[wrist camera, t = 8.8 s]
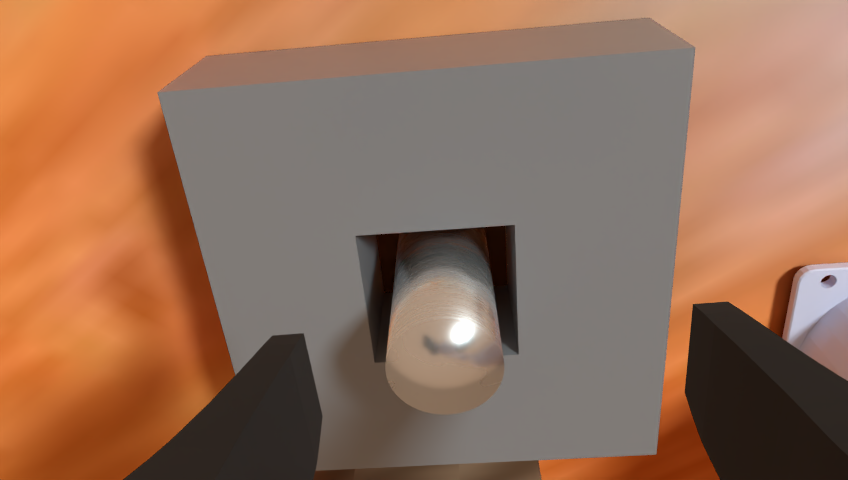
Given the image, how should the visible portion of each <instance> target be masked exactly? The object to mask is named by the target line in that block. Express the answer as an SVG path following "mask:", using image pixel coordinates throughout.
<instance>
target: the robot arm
mask: <svg viewBox="0 0 848 480" xmlns="http://www.w3.org/2000/svg"><path fill="white" fill-rule="evenodd" d="M828 275H831V276H830V278H829V279H828V280H827V281H825V282H821V280H822V279H823V278H824V277H825V276H828ZM685 394H686V397H687V400H688V403H689V407H690V410H691V413H692V416H693V419H694V422H695V424H696V427H697V430H698V433H699V436H700V438H701V441H702V443H703V445H704V448H705V450H706V452H707V454H708V456H709V458H710V460H711V462H712V464H713V466H714V468H715V470H716V472H717V474H718V476H719V478H720V480H848V262H847V263H831V264H816V265H808V266H804V267H803V268H801V269H799V270H798V272H797V273H796V274H795V276H794V279H793V284H792V289H791V295H790V300H789V305H788V310H787V315H786V321H785V326H784V331H783V336H782V338H781V337H779V336H778V335H777V334H775V333H774V332H772V331H771V330H769V329H768V328H766V327H765V326H763V325H762V324H761V323H759V322H758V321H756V320H755V319H753V318H752V317H750V316H749V315H747V314H746V313H744V312H743V311H742V310H740V309H738V308H737V307H735V306H734V305H732V304H731V303H729V302H717V303H704V304H693V311H692V322H691V332H690V343H689V353H688V364H687V375H686V385H685ZM322 417H323V415H322V411H321V407H320V402H319V398H318V394H317V389H316V385H315V380H314V376H313V372H312V367H311V363H310V359H309V354H308V350H307V345H306V341H305V337H304V333H299V334H286V335H273V336H271V337H270V338H269V339H268V340H267V341H266V343H265V344H264V345H263V346H262V347H261V348H260V349H259V350H258V351H257V352H256V353H255V355H254V356H253V357H252V358H251V359H250V360H249V361H248V362H247V363H246V364H245V366H244V367H243V368H242V369H241V370H240V371H239V372H238V373H237V374H236V375H235V376H234V378H233V379H232V380H231V381H230V382H229V383H228V384H227V385H226V386H225V387H224V388H223V389H222V390H221V391H220V392H219V393H218V394H217V396H216V397H215V398H214V399H213V400H212V401H211V402H210V403H209V404H208V405H207V406H206V407H205V408H204V409H203V410H202V411H201V412H200V413H199V414H197V415H196V416H195V417H194V418H193V419H192V420H191V421H190V422H189V423H188V424H187V425H186V426H185V427H184V428H183V429H182V430H181V431H180V432H179V433H178V434H177V435H176V436H175V437H173V438H172V439H171V440H170V441H169V442H168V443H167V444H166V445H165V446H164V447H162V448H161V449H160V450H159V451H158V452H157V453H155V454H154V455H153V456H152V457H151V458H150V459H148V460H147V461H146V462H145V463H143V464H142V465H141V466H140V467H138V468H137V469H136V470H135V471H133V472H132V473H131V474H130V475H128V476H127V477H126V478H125V479H123V480H313V479H314V474H315V470H316V466H317V460H318V452H319V444H320V436H321V426H322Z"/></svg>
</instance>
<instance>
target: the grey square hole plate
mask: <svg viewBox="0 0 848 480" xmlns="http://www.w3.org/2000/svg"><path fill="white" fill-rule="evenodd" d="M694 56H695V47H694V46H692V45H691V44H689V43H688V42H686V41H685V40H683V39H682V38H680V37H678V36H677V35H675V34H674V33H672V32H671V31H669V30H668V29H666V28H665V27H663V26H662V25H660V24H658V23H657V22H655V21H654V20H652V19H651V18H642V19H631V20H619V21H607V22H596V23H584V24H573V25H561V26H550V27H538V28H526V29H515V30H503V31H492V32H480V33H468V34H457V35H445V36H434V37H422V38H411V39H399V40H387V41H376V42H364V43H353V44H341V45H330V46H318V47H306V48H295V49H283V50H272V51H260V52H249V53H237V54H225V55H214V56H206V57H205V58H203V59H202V60H201V61H199V62H198V63H196V64H195V65H194V66H192V67H191V68H190V69H188V70H187V71H186V72H184V73H183V74H182V75H180V76H179V77H178V78H176V79H175V80H173V81H172V82H171V83H169V84H168V85H167V86H165V87H164V88H163V89H161V90H160V91H159V92H158V96H159V100H160V103H161V107H162V111H163V114H164V118H165V122H166V125H167V129H168V132H169V136H170V140H171V143H172V147H173V151H174V154H175V158H176V162H177V165H178V169H179V172H180V176H181V180H182V183H183V187H184V191H185V194H186V198H187V202H188V205H189V209H190V212H191V216H192V220H193V223H194V227H195V231H196V234H197V238H198V241H199V245H200V249H201V252H202V256H203V260H204V263H205V267H206V271H207V274H208V278H209V281H210V285H211V289H212V292H213V296H214V300H215V303H216V307H217V311H218V314H219V318H220V321H221V325H222V329H223V332H224V336H225V340H226V343H227V347H228V351H229V354H230V358H231V361H232V365H233V369H234V372H235V375H236V374H237V373H238V372H239V371H240V370H241V369H242V368H243V367H244V366H245V364H246V363H247V362H248V361H249V360H250V359H251V358H252V357H253V356H254V355H255V353H256V352H257V351H258V350H259V349H260V348H261V347H262V346H263V345H264V344H265V343H266V341H267V340H268V339H269V338H270V337H271V336H273V335H286V334H299V333H304V337H305V341H306V345H307V350H308V354H309V359H310V363H311V367H312V372H313V376H314V380H315V385H316V389H317V394H318V398H319V402H320V407H321V411H322V415H323V417H322V426H321V436H320V444H319V452H318V460H317V466H316V470H315V471H321V470H342V469H363V468H384V467H405V466H426V465H447V464H468V463H489V462H511V461H532V460H553V459H574V458H595V457H616V456H637V455H656V454H657V444H658V433H659V423H660V412H661V402H662V391H663V381H664V370H665V360H666V349H667V339H668V328H669V318H670V307H671V297H672V287H673V276H674V266H675V255H676V245H677V234H678V224H679V213H680V203H681V192H682V182H683V171H684V161H685V151H686V140H687V130H688V119H689V109H690V98H691V88H692V77H693V67H694ZM491 226H505V234H506V261H507V285H502V286H493V288H494V295H495V302H496V309H497V316H498V323H499V330H500V337H501V344H502V351H503V358H504V375H503V379H502V382H501V384H500V386H499V388H498V389H497V391H496V392H495V393H494V394H493V396H492V397H490V398H489V399H488V400H487V401H486V402H484V403H483V404H481V405H480V406H478V407H476V408H474V409H471V410H469V411H466V412H462V413H457V414H448V415H441V414H432V413H427V412H424V411H421V410H418V409H416V408H413V407H411V406H410V405H408V404H406V403H405V402H404V401H402V400H401V399H400V398H399V397H398V396H397V395H396V394H395V392H394V391H393V390H392V388H391V387H390V385H389V383H388V380H387V377H386V371H385V364H386V354H387V344H388V335H389V325H390V315H391V306H392V296H393V292H392V293H384V287H383V280H382V272H381V265H380V258H379V250H378V243H377V236H376V234H390V233H404V232H419V231H433V230H448V229H462V228H477V227H491Z"/></svg>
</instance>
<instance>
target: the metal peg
mask: <svg viewBox="0 0 848 480" xmlns="http://www.w3.org/2000/svg"><path fill="white" fill-rule="evenodd" d="M385 371H386V377H387V380H388V383H389V385H390V387H391V388H392V390H393V391H394V392H395V394H396V395H397V396H398V397H399V398H400V399H401V400H402V401H404V402H405V403H406V404H408V405H410V406H411V407H413V408H416V409H418V410H421V411H424V412H427V413H432V414H441V415H448V414H457V413H462V412H466V411H469V410H471V409H474V408H476V407H478V406H480V405H481V404H483V403H484V402H486V401H487V400H488V399H489V398H490V397H492V396H493V394H494V393H495V392H496V391H497V389H498V388H499V386H500V384H501V382H502V379H503V375H504V358H503V351H502V344H501V337H500V330H499V323H498V316H497V309H496V302H495V295H494V288H493V281H492V274H491V267H490V260H489V253H488V246H487V239H486V232H485V228H484V227H477V228H462V229H448V230H433V231H419V232H404V233H399V238H398V248H397V257H396V267H395V277H394V286H393V296H392V306H391V315H390V325H389V335H388V344H387V354H386V364H385Z"/></svg>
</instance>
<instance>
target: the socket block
mask: <svg viewBox="0 0 848 480" xmlns="http://www.w3.org/2000/svg"><path fill="white" fill-rule="evenodd" d="M313 480H541V474H540V468H539V463H538V460H532V461H511V462H489V463H468V464H447V465H426V466H405V467H384V468H363V469H342V470H321V471H315V474H314V479H313Z"/></svg>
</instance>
